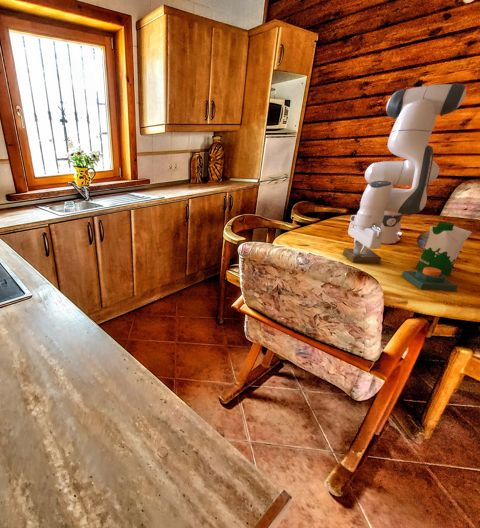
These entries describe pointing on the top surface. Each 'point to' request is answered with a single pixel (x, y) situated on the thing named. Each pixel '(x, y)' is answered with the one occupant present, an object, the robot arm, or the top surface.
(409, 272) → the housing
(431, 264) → the milk carton
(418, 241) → the tin
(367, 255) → the panel
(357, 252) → the knob
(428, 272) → the button
